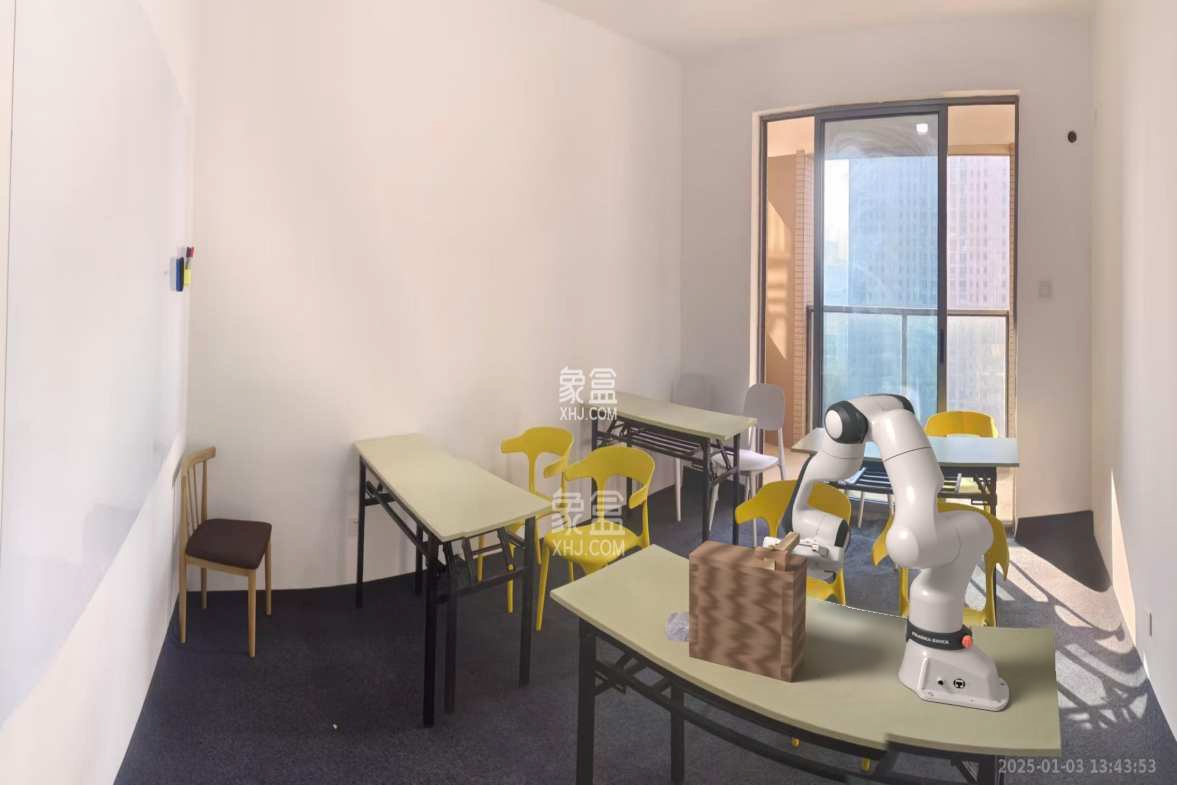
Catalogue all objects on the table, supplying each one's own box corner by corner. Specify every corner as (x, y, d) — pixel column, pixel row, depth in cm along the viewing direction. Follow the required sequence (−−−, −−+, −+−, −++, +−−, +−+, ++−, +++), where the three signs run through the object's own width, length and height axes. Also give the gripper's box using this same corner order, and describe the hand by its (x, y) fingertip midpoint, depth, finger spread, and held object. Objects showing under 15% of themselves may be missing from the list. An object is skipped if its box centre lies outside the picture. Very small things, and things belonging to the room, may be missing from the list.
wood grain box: (804, 661, 186) (807, 557, 182) (790, 682, 177) (793, 573, 173) (706, 637, 199) (706, 540, 195) (689, 656, 190) (689, 554, 186)
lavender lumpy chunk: (665, 648, 198) (704, 643, 196) (662, 630, 198) (701, 625, 196) (670, 628, 210) (707, 624, 208) (667, 611, 209) (704, 606, 207)
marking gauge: (809, 544, 191) (809, 524, 190) (784, 572, 174) (784, 550, 173) (780, 539, 194) (781, 520, 194) (754, 566, 177) (754, 545, 177)
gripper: (772, 537, 211) (758, 525, 200) (850, 550, 201) (839, 538, 189) (768, 560, 209) (753, 550, 198) (846, 574, 199) (835, 564, 187)
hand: (796, 544), depth 194 cm, fingers open, 8 cm apart
